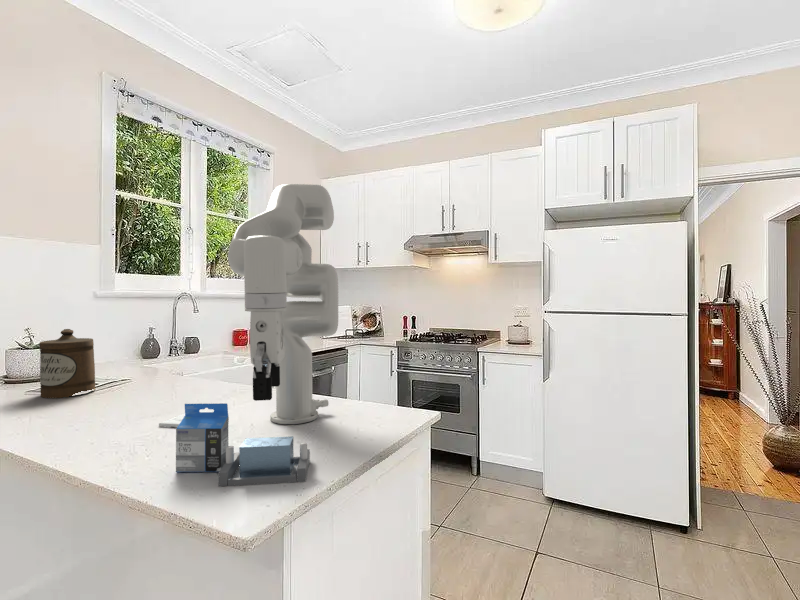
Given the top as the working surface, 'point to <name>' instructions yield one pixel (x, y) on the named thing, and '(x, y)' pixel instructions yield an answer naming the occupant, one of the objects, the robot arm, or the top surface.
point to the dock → (233, 464)
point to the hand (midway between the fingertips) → (267, 392)
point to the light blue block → (266, 457)
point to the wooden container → (66, 365)
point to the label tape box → (202, 438)
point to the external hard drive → (176, 420)
